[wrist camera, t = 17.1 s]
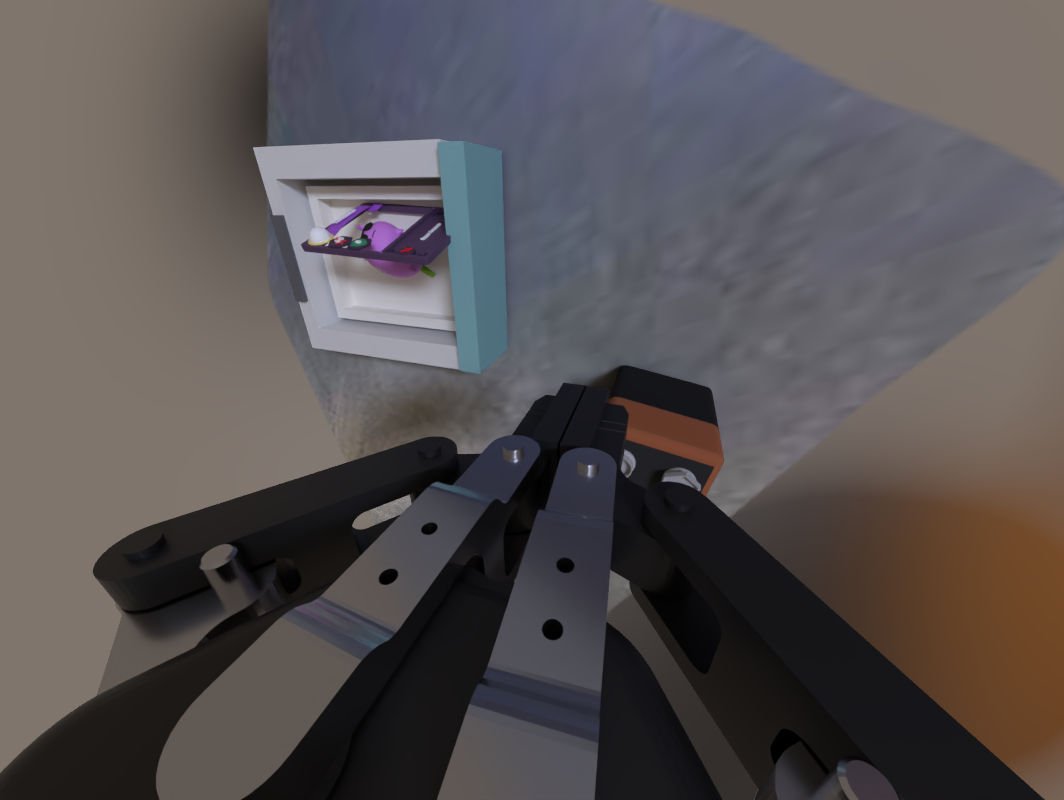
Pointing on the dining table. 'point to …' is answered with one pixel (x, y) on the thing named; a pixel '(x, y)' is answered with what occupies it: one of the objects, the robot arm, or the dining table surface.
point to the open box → (307, 270)
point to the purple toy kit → (386, 240)
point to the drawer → (460, 269)
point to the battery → (668, 430)
